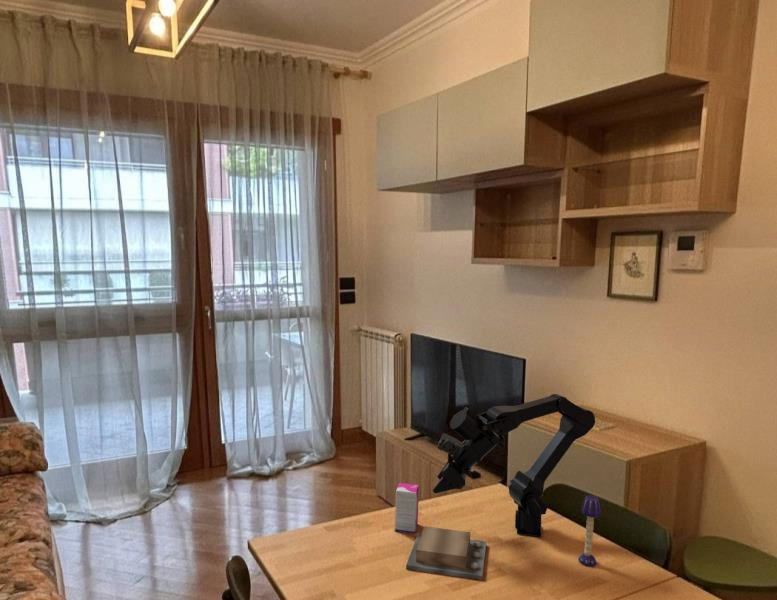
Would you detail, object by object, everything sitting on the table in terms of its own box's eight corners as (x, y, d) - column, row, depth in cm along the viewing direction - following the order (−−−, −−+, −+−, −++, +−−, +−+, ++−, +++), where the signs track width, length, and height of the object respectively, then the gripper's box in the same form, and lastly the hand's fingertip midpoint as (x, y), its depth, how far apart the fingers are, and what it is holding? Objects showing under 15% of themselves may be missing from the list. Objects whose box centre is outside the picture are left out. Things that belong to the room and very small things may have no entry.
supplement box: (415, 533, 146) (416, 492, 145) (394, 531, 147) (394, 490, 146) (418, 523, 151) (419, 484, 150) (398, 521, 152) (398, 482, 152)
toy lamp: (598, 559, 134) (601, 494, 132) (599, 569, 129) (601, 502, 128) (578, 556, 135) (580, 491, 134) (578, 565, 131) (580, 499, 130)
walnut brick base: (486, 545, 140) (486, 530, 140) (482, 580, 124) (482, 563, 124) (418, 536, 144) (418, 521, 144) (406, 569, 129) (406, 552, 128)
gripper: (458, 415, 153) (420, 451, 156) (451, 436, 134) (408, 476, 138) (486, 444, 151) (448, 479, 155) (483, 469, 133) (439, 508, 137)
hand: (436, 484), depth 146 cm, fingers open, 9 cm apart
